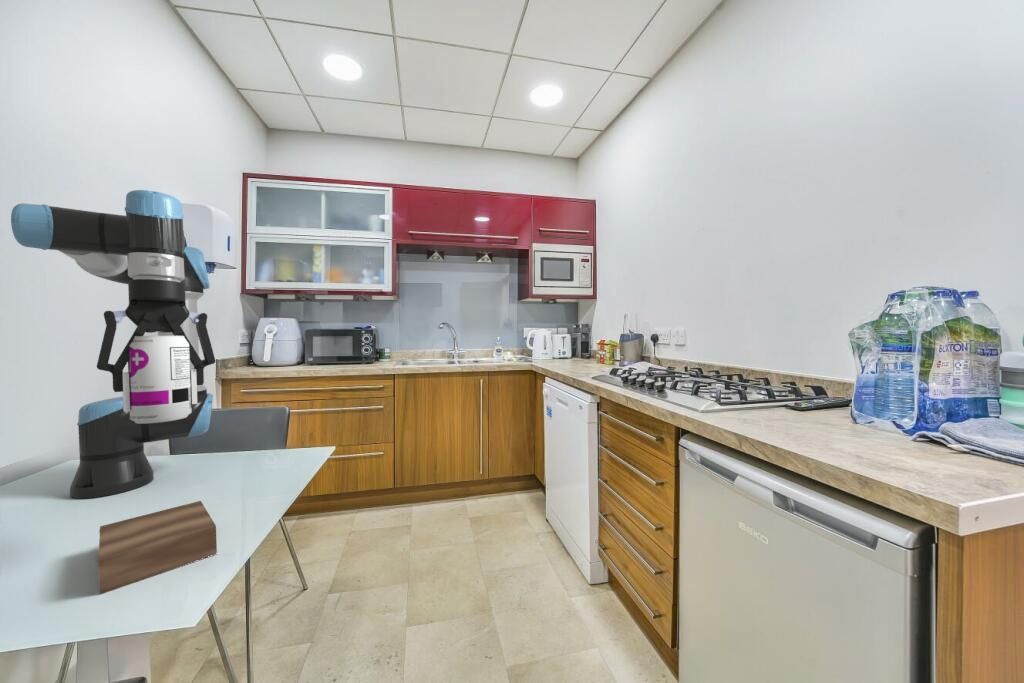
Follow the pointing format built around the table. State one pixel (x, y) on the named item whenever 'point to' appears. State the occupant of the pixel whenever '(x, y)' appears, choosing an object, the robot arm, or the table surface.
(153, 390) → the supplement can
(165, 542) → the walnut base
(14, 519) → the table surface
